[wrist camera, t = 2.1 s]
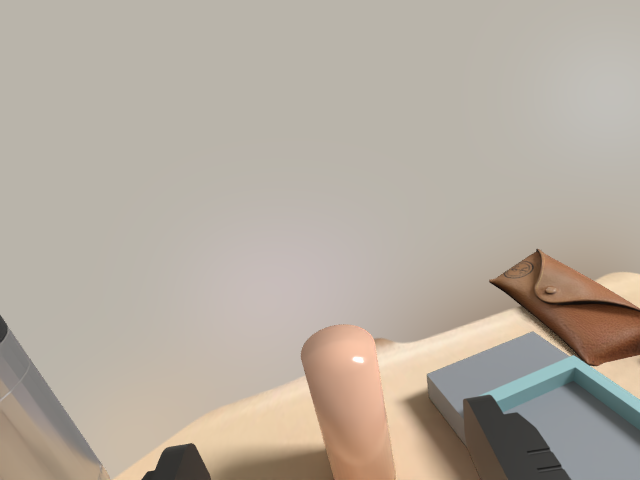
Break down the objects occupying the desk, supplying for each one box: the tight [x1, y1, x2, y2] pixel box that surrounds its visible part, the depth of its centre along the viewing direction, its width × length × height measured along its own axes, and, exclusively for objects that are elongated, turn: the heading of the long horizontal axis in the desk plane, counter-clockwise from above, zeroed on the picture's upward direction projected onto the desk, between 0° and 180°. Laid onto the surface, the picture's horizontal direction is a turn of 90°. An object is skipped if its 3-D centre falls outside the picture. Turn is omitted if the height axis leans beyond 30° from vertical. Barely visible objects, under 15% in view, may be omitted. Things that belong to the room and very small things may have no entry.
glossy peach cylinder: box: [301, 324, 396, 480], centre depth 26 cm, size 5×5×13 cm
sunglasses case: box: [489, 249, 640, 366], centre depth 41 cm, size 18×7×7 cm
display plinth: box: [427, 332, 640, 480], centre depth 25 cm, size 12×20×4 cm, turn 17°
